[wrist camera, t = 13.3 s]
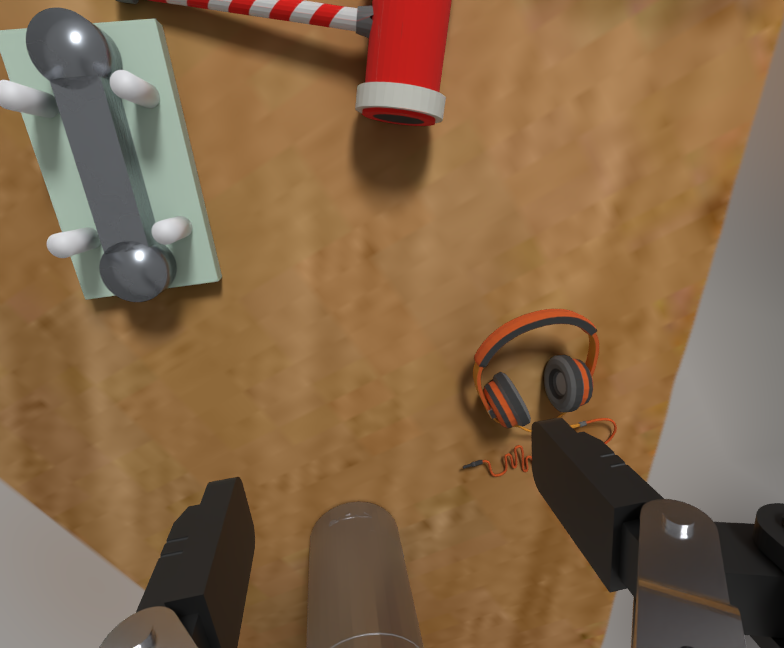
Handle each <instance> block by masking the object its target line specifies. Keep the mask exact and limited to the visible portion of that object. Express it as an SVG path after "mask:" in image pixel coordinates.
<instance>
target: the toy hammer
mask: <svg viewBox="0 0 784 648" xmlns="http://www.w3.org/2000/svg"><path fill="white" fill-rule="evenodd" d="M116 1H119V2H125V3H132V4H137V3H138V2H139V0H116ZM149 1H156V2H163V3H169V4H176V5H183V6H190V7H196V8H203V9H210V10H217V11H223V12H230V13H237V14H244V15H250V16H257V17H264V18H271V19H277V20H284V21H291V22H298V23H304V24H311V25H318V26H324V27H331V28H338V29H344V30H350V31H356V33H357V34H359V35H362V36H365V37H367V38H369V44H368V55H367V66H366V77H365V83H362V84H359V85H358V87H357V96H356V108H355V109H356V111H358V112H360V113H362V115H363V116H365V117H367V118H370V119H373V120H377V121H382V122H387V123H393V124H401V125H411V126H431V125H434V124H435V123H438V122H441V121H442V120H443V114H444V106H445V99H446V97H445V96H444V95H443V94H441V93H439V90H440V82H441V75H442V67H443V60H444V52H445V45H446V38H447V30H448V23H449V15H450V8H451V0H372V6H358V8H350V7H343V6H337V5H330V4H323V3H317V2H310V1H304V0H149Z"/></svg>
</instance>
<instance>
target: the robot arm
mask: <svg viewBox="0 0 784 648" xmlns="http://www.w3.org/2000/svg"><path fill="white" fill-rule="evenodd" d="M532 472H533V477H534V481H535V484H536V486H537V488H538V490H539V492H540V494H541V495H542V496H543V498H544V499H545V501H546V502H547V504H548V505H549V506H550V508H551V509H552V511H553V512H554V514H555V515H556V516H557V518H558V519H559V521H560V522H561V524H562V525H563V526H564V528H565V529H566V531H567V532H568V534H569V535H570V536H571V538H572V539H573V541H574V542H575V544H576V545H577V546H578V548H579V549H580V551H581V552H582V554H583V555H584V556H585V558H586V559H587V561H588V562H589V564H590V565H591V566H592V568H593V569H594V571H595V572H596V574H597V575H598V576H599V578H600V579H601V581H602V582H603V584H604V585H605V586H606V588H607V589H608V591H609V592H614V591H618V590H622V589H626V588H628V589H629V591H630V592H631V593H632V595H633V596H634V601H633V619H632V640H631V648H746V643H745V637H744V635H750V636H751V637H752V638H753V640H754V641H755V642H756V643H757V644H758V645H759V647H760V648H784V504H780V503H775V504H768V505H765V506H762V507H761V508H760V509H758V511H757V514H756V519H755V524H745V523H726V522H714V521H713V520H712V519H711V518H710V517H709V516H708V515H707V514H706V513H704V512H703V511H701V510H700V509H698V508H696V507H694V506H692V505H690V504H687V503H685V502H681V501H677V500H672V499H664V498H663V497H662V496H661V495H660V494H658V493H657V492H656V491H655V490H654V489H653V488H652V487H651V486H650V485H649V484H648V483H647V482H646V481H644V480H643V479H642V478H641V477H640V476H639V475H638V474H637V473H636V472H635V471H634V470H633V469H632V468H631V467H629V466H628V465H625V462H624V461H623V460H622V459H621V458H620V457H619V456H618V455H615V454H614V452H613V451H612V450H611V449H610V448H609V447H608V446H607V445H606V444H605V443H604V442H603V441H601V440H599V439H597V438H595V437H593V436H591V435H589V434H587V433H585V432H579V433H577V432H576V431H575V430H574V429H573V428H572V427H571V426H570V425H569V424H568V423H567V422H566V421H565V420H563V419H562V418H554V419H548V420H543V421H538V422H534V423H533V424H532ZM254 549H255V532H254V525H253V521H252V517H251V513H250V510H249V506H248V502H247V498H246V495H245V491H244V487H243V483H242V481H241V479H240V477H235V478H229V479H224V480H219V481H213V482H209V483H208V485H207V487H206V490H205V492H204V495H203V498H202V501H201V503H200V505H195V506H189V507H188V508H187V509H186V510H185V511H184V512H183V513H182V515H181V516H180V517H179V518H178V519H177V520H176V521H175V522H174V524H173V526H172V529H171V531H170V533H169V536H168V538H167V544H165V545H164V547H163V550H162V552H161V558H159V559H158V562H157V564H156V566H155V569H154V571H153V573H152V576H151V578H150V580H149V583H148V585H147V588H146V590H145V592H144V595H143V597H142V599H141V602H140V604H139V606H138V609H137V611H136V613H135V614H133V615H131V616H129V617H128V618H126V619H125V620H123V621H122V622H121V623H119V624H118V625H117V626H116V627H115V628H114V629H113V630H112V631H111V632H110V633H109V634H108V635H107V637H106V638H105V639H104V641H103V642H102V644H101V645H100V647H99V648H237V646H238V640H239V634H240V629H241V623H242V617H243V612H244V606H245V600H246V595H247V589H248V583H249V578H250V572H251V566H252V561H253V555H254ZM307 648H424V647H423V643H422V638H421V633H420V629H419V624H418V620H417V615H416V611H415V606H414V602H413V597H412V592H411V588H410V583H409V579H408V574H407V570H406V565H405V560H404V555H403V551H402V546H401V542H400V537H399V532H398V528H397V525H396V522H395V520H394V518H393V517H392V516H391V514H390V513H389V512H387V511H386V510H385V509H384V508H382V507H380V506H378V505H375V504H372V503H368V502H351V503H346V504H342V505H339V506H337V507H335V508H333V509H331V510H329V511H328V512H326V513H325V514H324V515H323V516H322V517H321V518H320V519H319V520H318V521H317V522H316V524H315V526H314V527H313V529H312V533H311V536H310V557H309V582H308V617H307Z"/></svg>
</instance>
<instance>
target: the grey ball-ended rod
mask: <svg viewBox="0 0 784 648" xmlns="http://www.w3.org/2000/svg"><path fill="white" fill-rule="evenodd" d="M26 47H27V51H28V54H29V57H30V59H31V61H32V63H33V64H34V66H35V67H36V69H37V70H38V71H39V72H40V73H41V74H42V75H43V76H44V77H45V78H46V79H48V80H49V81H50V84H51V87H52V90H53V94H54V97H55V100H56V103H57V106H58V109H59V112H60V116H61V119H62V122H63V125H64V128H65V131H66V135H67V138H68V141H69V144H70V147H71V150H72V153H73V157H74V160H75V163H76V166H77V169H78V172H79V176H80V179H81V182H82V185H83V188H84V191H85V194H86V198H87V201H88V204H89V207H90V210H91V213H92V217H93V220H94V223H95V226H96V229H97V232H98V235H99V239H100V242H101V245H102V248H103V251H104V254H103V255H102V257H101V260H100V264H99V270H100V276H101V278H102V281H103V283H104V284H105V286H106V287H107V288H108V289H109V291H111V292H112V293H113V294H114V295H116V296H117V297H119V298H121V299H124V300H127V301H131V302H143V301H147V300H150V299H152V298H154V297H155V296H157V295H158V294H160V293H161V292H162V291H164V290H165V289H167V288H168V287H169V286H170V285H171V284H172V283H173V281H174V279H175V277H176V273H177V265H176V260H175V258H174V256H173V254H172V252H171V251H170V250H169V248H168V247H167V246H165V245H163V244H160V243H158V242H157V241H156V240H155V239H154V238H153V236H152V227H153V225H154V224H155V219H154V215H153V212H152V208H151V204H150V201H149V197H148V193H147V190H146V186H145V182H144V179H143V175H142V171H141V168H140V164H139V161H138V157H137V153H136V150H135V146H134V142H133V139H132V135H131V131H130V128H129V124H128V120H127V117H126V113H125V109H124V106H123V102H122V98H120V97H118V96H117V95H116V94H115V93H114V92H113V91H112V89H111V86H110V77H111V75H112V74H113V73H114V72H115V71H117V70H123V65H122V58H121V55H120V52H119V50H118V47H117V46H116V44H115V42H114V41H113V40H112V39H111V37H110V36H109V35H108V34H107V33H105V32H104V31H103V30H101V29H100V28H99V27H97V26H96V25H94V24H93V23H91V22H90V21H88V20H87V19H85V18H84V17H82V16H81V15H79V14H77V13H76V12H73V11H71V10H68V9H64V8H49V9H45V10H43V11H41V12H39V13H38V14H36V15H35V16H34V17H33V18H32V20H31V21H30V23H29V25H28V28H27V31H26Z"/></svg>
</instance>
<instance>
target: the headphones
mask: <svg viewBox="0 0 784 648" xmlns="http://www.w3.org/2000/svg"><path fill="white" fill-rule="evenodd" d="M552 324H570V325H575V326H578V327H579V328H581V329H582V330H583V331H584V332H585V333H587V334H588V335H589V351H588V355H587V360H586V363H584V362H582V361H581V360H578V359H572V358H571V357H569V356H567V355H558V356H553V357H552V358H550V360H549V361H548V363H547V366H546V368H545V372H544V385H545V390H546V394H547V396H548V399H549V400H550V402H551V403H552V405H553V406H554V407H555V408H556V409H557V410H559V411H560V412H563V413H562V414H560V415H559V416H558V417H557V418H560V417H562V416H563V415H564V414H565V413H567V412H572V411H575V410H577V409H578V407H579V406H582V405H584V404H586V403H588V402H589V400H590V398H591V397H592V392H593V379H592V376H593V374H594V371H595V368H596V364H597V359H598V355H599V340H598V337H597V335H596V332H597V329H596V328H595V326H594V325H593V324H592V323H591V322H590V321H589V320H588V319H586V318H585V317H584V316H582V315H580V314H577V313H575V312H573V311H570V310H565V309H546V310H540V311H535V312H532V313H528V314H525V315H522V316H520V317H517V318H515V319H513V320H511V321H509V322H507V323H505V324H504V325H502V326H501V327H499V328H498V329H496V330H495V331H494V332H493V333H492V334H491V335H489V336H488V338H487V339H486V340H485V341H484V342H483V343H482V345H481V346H480V347H479V349H478V350H477V352H476V354H475V356H474V360H475V364H474V368H473V379H474V383H475V386H476V389H477V392H478V394H479V396H480V398H481V400H482V402H483V405H484V407H485V409H486V410H487V412H488V414H489V416H490V418H491V419H494V420H495V421H496V422H497V423H499V424H501V425H502V426H504V427H506V428H510V427H519V428H521V429H523V430H525V431H528V432H532V430H529V429H526V428H524V427H523V426H525V425H527V424H529V423H530V419H531V418H530V415H529V412H528V409H527V407H526V405H525V403H524V401H523V400H522V398H521V396H520V394H519V393H518V391H517V389H516V388H515V386H514V384H513V383H512V381H511V380H510V379H509V378H508V376H507V375H506V374H504V373H502V372H499V373H497V374H496V375H494V377H493V381H491V382H489V383H488V384H486V385H485V386H484V394H483V391H482V387H481V373H482V370H483V368H484V367H486V366H487V365H488V363H489V361H490V360H491V359H492V357H493V356H494V355H495V353H496V352H497V351H498V350H499V349H500V348H501V347H502V346H504V345H505V344H506V343H507V342H509V341H510V340H512V339H513V338H515V337H517V336H518V335H520V334H523V333H525V332H527V331H530V330H532V329H535V328H539V327H542V326H547V325H552ZM484 395H485V397H486V399H487V401H488V402H487V401H486V399H485V397H484ZM496 417H497V419H498V420H499V421H498V420H497V419H496ZM602 420H606V421H611V422H612V423H613V425H614V431H613V433H612V435H611V437H610V438H609V439H608V440H607V441H606V442H604V443H605V444H607V443H608V442H609V441H610V440H611V439H612V438H613V436H614V435H615V433H616V430H617V426H616V424H615V422H614V421H613V420H611V419H608V418H599V419H594V420H590V421H583V422H580V423H578V424H575V425H570V426H571V427H572V428H576V427H579V426H580V427H582V426H585V425H587V424H588V423H591V422H595V421H602ZM517 424H518V425H517ZM517 448H521V453H522V470H523V471H524V472H527V471H528V458H531V460H532V456H527V457H526V459H525V462H526V470H525V469H524V452H523V448H522V446H520V445H518V446H516V447H515V448H514V453H515V466H514V465H513V458H512V455H511V454H506V455H505V470H504V471H503V472H502V473H500V474H493V472H492V469H491V465H490V462H489V461H487V460H478V461H475V462H472V463H471V464H468V465H465V466H463V469H464V468H467V467H471V466H472V467H474V466H477V465H480V464H482V463H483V462H487V463H488V466H489V470H490V473H491V475H492V476H494V477H497V476H501V475H503V474H504V473H506V471H507V456H510V459H511V465H512V468H516V467H517V452H516V449H517Z"/></svg>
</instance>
